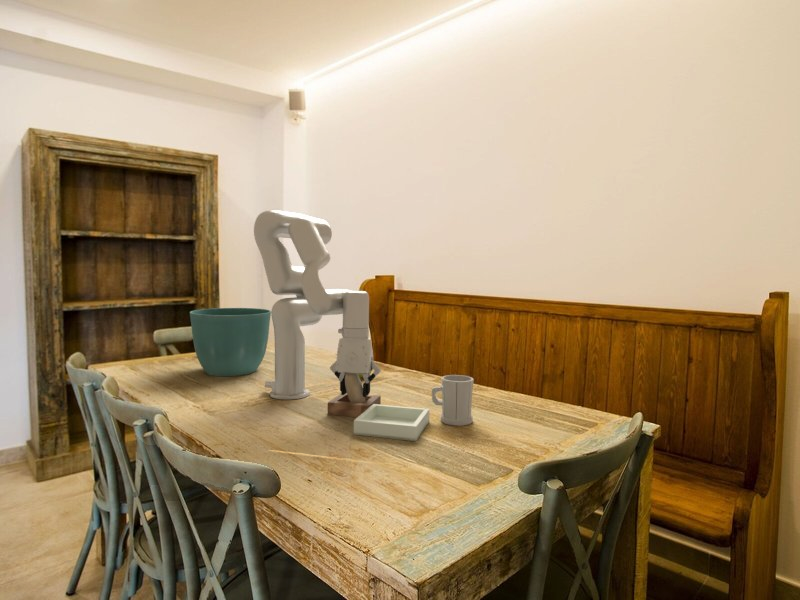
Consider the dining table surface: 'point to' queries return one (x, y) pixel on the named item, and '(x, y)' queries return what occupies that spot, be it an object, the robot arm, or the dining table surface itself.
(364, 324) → the robot arm
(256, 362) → the flower pot
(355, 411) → the pocket frame
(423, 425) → the tray
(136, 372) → the dining table surface
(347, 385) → the stone
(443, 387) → the cup
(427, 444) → the dining table surface
